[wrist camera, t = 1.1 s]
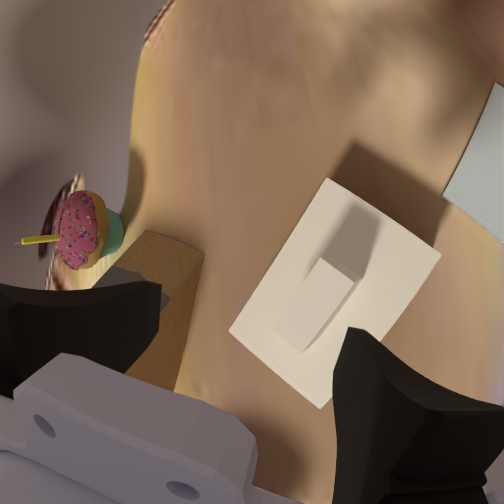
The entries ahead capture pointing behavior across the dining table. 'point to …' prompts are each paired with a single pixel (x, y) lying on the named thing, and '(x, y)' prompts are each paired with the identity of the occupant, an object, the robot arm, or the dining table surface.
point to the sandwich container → (172, 300)
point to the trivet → (483, 170)
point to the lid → (331, 288)
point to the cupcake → (84, 231)
